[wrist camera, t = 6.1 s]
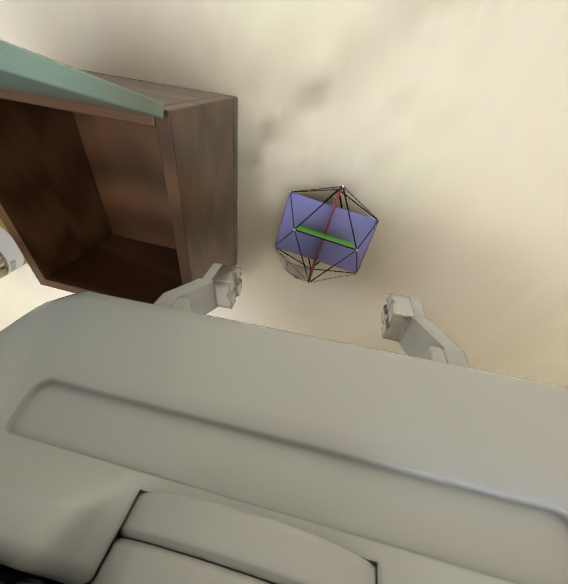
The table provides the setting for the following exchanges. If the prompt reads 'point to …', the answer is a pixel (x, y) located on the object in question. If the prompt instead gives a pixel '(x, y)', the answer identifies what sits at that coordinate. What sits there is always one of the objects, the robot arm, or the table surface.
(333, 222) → the geometric puzzle
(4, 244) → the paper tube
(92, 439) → the robot arm
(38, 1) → the table surface
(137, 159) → the case
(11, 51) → the pale blue slab
